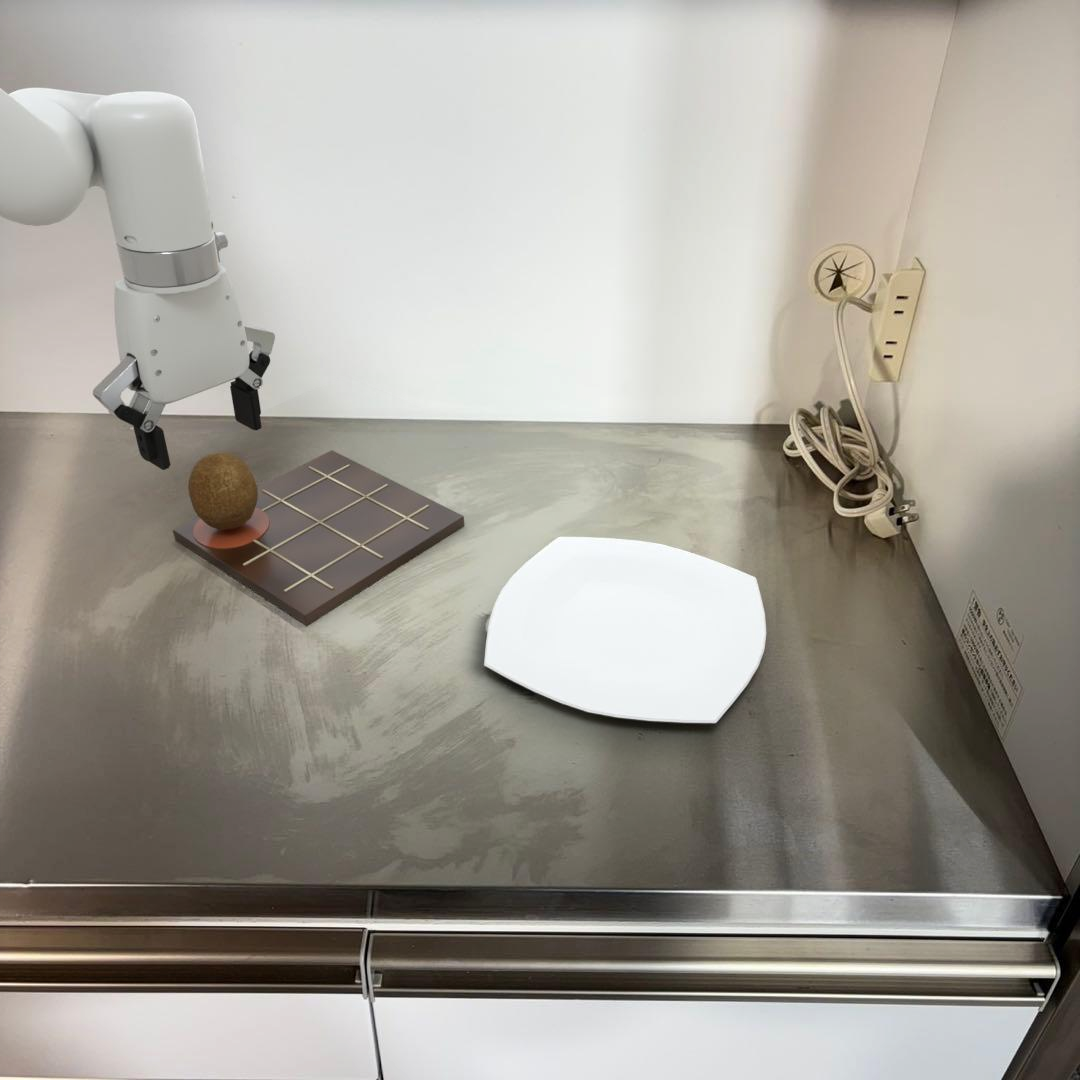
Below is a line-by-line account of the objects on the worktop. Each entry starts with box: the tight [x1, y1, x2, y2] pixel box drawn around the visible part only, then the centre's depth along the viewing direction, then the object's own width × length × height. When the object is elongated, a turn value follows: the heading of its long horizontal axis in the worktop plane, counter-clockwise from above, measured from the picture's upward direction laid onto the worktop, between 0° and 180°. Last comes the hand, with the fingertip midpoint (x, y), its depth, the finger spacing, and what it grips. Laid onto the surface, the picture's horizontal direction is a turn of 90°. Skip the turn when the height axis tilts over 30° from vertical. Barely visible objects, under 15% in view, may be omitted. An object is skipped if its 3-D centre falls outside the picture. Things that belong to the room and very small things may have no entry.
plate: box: [483, 536, 767, 725], centre depth 83 cm, size 23×23×2 cm
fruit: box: [187, 452, 258, 530], centre depth 92 cm, size 6×6×8 cm
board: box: [172, 449, 465, 627], centre depth 95 cm, size 20×20×1 cm
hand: (204, 443), depth 89 cm, fingers open, 9 cm apart
